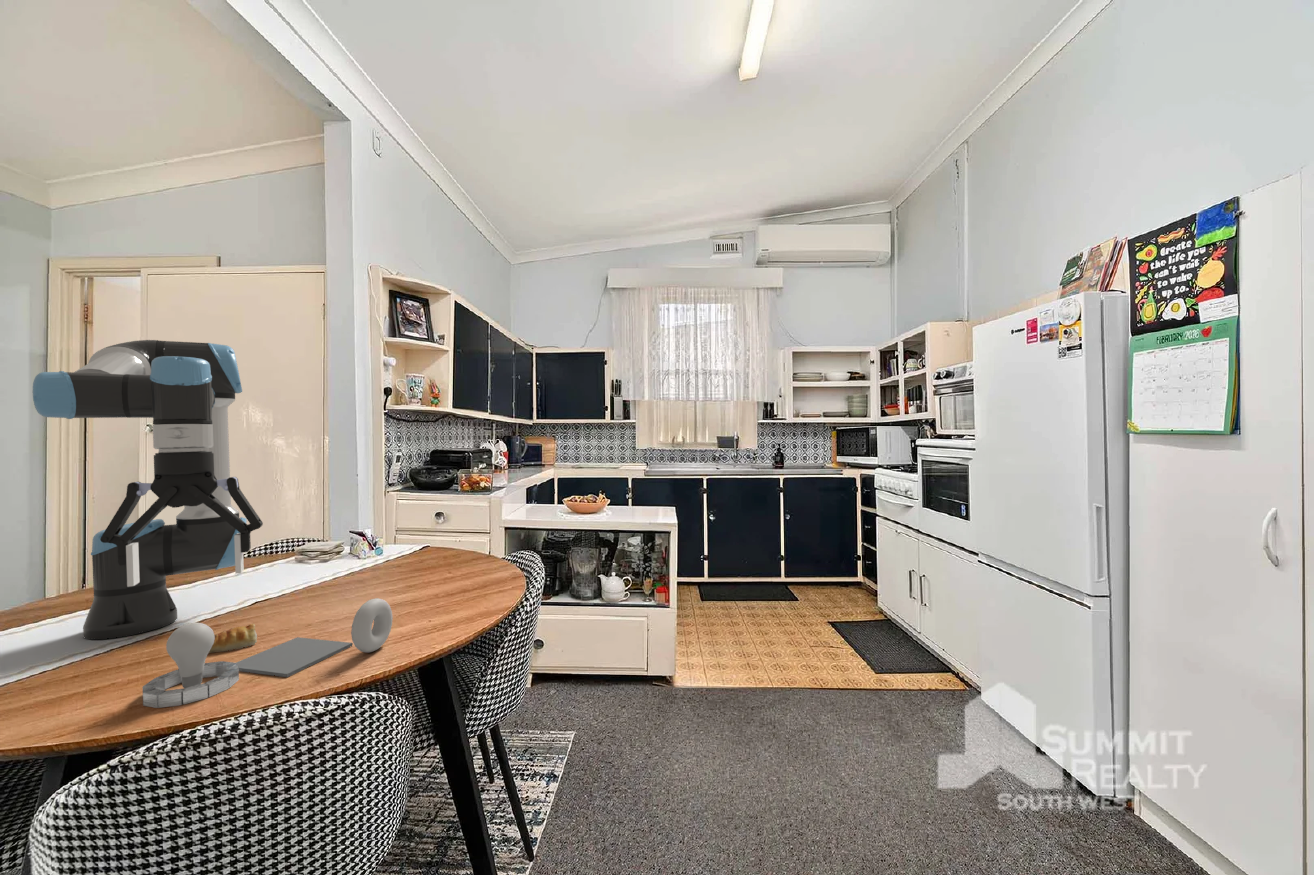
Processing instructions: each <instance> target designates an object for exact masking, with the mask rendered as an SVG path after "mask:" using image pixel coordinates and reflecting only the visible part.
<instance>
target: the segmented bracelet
mask: <svg viewBox="0 0 1314 875" xmlns="http://www.w3.org/2000/svg"><path fill="white" fill-rule="evenodd" d="M202 676H203V677H202V679H204V678H211V677H212V679H211V680H208V681H206V682H202V683H201V684H199V685H195V686H192V687H188V688H183V687H182V688H176V689H170V688H172V687H174V686H177V685H179V684H182V677H181V676H180V674H179V669H178V668H177V669H174V670H172V671H170V672H167V673H164V674H161V675H159V676H156V677H154V678H153V679H152V680H150V681H148V682H147V683H145V684H144V685H142V706H143V707H149V708H155V709H160V708H161V709H162V708H168V707H177V706H182V705H187V704H190V703H194V702H197V701H201V700H205V699H208V698H211V697H213V696H215V695H217V694H220V693H222V692H224V691H226V690H228V689H230V688H231V687H232V686H234V685H235V684H236V683H237V682H238V681H239V679H240V671H239V668H238V666H237V664H236V662H233V661H232V662H231V661H222V660H221V661H212V662H205V664H204V671H203V673H202ZM213 677H215V678H213ZM167 689H168V690H167Z"/></svg>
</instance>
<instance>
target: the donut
mask: <svg viewBox="0 0 1314 875" xmlns="http://www.w3.org/2000/svg"><path fill="white" fill-rule="evenodd" d="M392 627H393V611H392V608H391V605H390V604H389V603H388V601H387V600H385V599H382V598H378V597H376V598H372V599H368V600H366V602H364V603H363V604H362V605H361V606H360V607H359V609H357V612H356V613H355V615H354V617H353V621H352V624H351V632H350V634H351V640H352V643H353V646H354V647H355V648H356V649H357V650H359V651H360V652H362V653H367V654H368V653H372V652H374V651H375V652H376V651H378V650H379V649H380V648H381V647H382V646H383V645H384V644H385V642H387V640H388V638H389V636H390V633H391V630H392Z"/></svg>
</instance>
